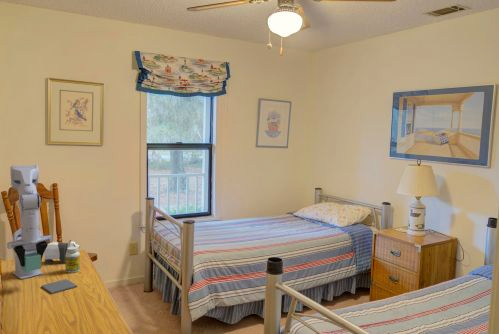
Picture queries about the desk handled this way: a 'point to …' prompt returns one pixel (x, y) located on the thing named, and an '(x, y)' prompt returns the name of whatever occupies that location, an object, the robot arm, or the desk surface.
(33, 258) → the teal cube
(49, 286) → the slate mat
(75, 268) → the supplement bottle
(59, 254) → the giant panda
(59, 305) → the desk surface
